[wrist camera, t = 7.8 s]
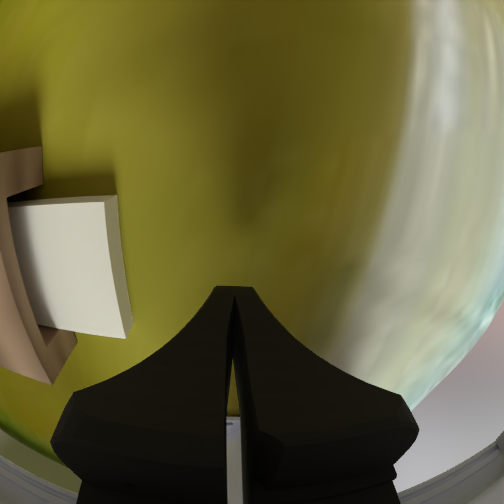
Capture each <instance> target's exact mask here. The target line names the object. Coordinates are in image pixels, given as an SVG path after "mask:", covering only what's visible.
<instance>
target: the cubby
mask: <svg viewBox="0 0 504 504" xmlns="http://www.w3.org/2000/svg"><path fill="white" fill-rule="evenodd" d="M42 184H43V170H42V146H38V147H31V148H24V149H17V150H12V151H6V152H0V366H2V367H4V368H6V369H9V370H11V371H14V372H16V373H19V374H21V375H24V376H27V377H30V378H32V379H35V380H38V381H41V382H44V383H47V384H50V385H53V383H54V381H55V379H56V378H57V376H58V374H59V372H60V371H61V369H62V367H63V365H64V364H65V362H66V360H67V359H68V357H69V355H70V354H71V352H72V350H73V349H74V347H75V346H76V344H77V340H76V337H75V334H74V331H69V330H63V329H58V328H53V327H48V326H43V325H38V324H37V323H36V320H35V317H34V314H33V312H32V309H31V306H30V303H29V300H28V297H27V293H26V290H25V287H24V283H23V280H22V276H21V272H20V269H19V265H18V260H17V256H16V252H15V247H14V242H13V237H12V232H11V226H10V219H9V213H8V205H7V197H9V196H12V195H14V194H17V193H20V192H22V191H25V190H28V189H31V188H34V187H37V186H39V185H42Z"/></svg>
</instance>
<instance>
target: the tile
mask: <svg viewBox="0 0 504 504" xmlns="http://www.w3.org/2000/svg"><path fill="white" fill-rule="evenodd" d="M7 205H8V213H9V219H10V226H11V232H12V237H13V242H14V247H15V252H16V256H17V260H18V265H19V269H20V272H21V276H22V280H23V283H24V287H25V290H26V293H27V297H28V300H29V303H30V306H31V309H32V312H33V314H34V317H35V320H36V323H37V324H38V325H43V326H48V327H53V328H58V329H63V330H69V331H75V332H81V333H87V334H93V335H100V336H107V337H115V338H123V339H126V338H127V336H128V333H129V331H130V329H131V327H132V325H133V323H134V321H133V316H132V311H131V306H130V300H129V294H128V289H127V282H126V276H125V269H124V262H123V254H122V245H121V236H120V226H119V213H118V198H117V195H103V196H81V197H65V198H51V199H38V200H27V201H17V202H8V203H7Z"/></svg>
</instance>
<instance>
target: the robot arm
mask: <svg viewBox="0 0 504 504" xmlns="http://www.w3.org/2000/svg"><path fill="white" fill-rule="evenodd" d="M232 359H233V362H234V370H235V379H236V386H237V394H238V402H239V410H240V417H227V404H228V395H229V386H230V377H231V368H232ZM418 432H419V427H418V425H417V423H416V421H415V419H414V417H413V415H412V413H411V411H410V409H409V407H408V406H407V404H406V402H405V401H404V399H403V398H402V396H401V395H399V394H396V393H393V392H391V391H388V390H385V389H382V388H379V387H377V386H374V385H371V384H369V383H366V382H364V381H362V380H360V379H358V378H356V377H354V376H352V375H349V374H347V373H345V372H344V371H342V370H340V369H338V368H336V367H335V366H333V365H331V364H330V363H328V362H327V361H325V360H323V359H322V358H320V357H319V356H317V355H316V354H315V353H313V352H312V351H310V350H309V349H308V348H306V347H305V346H304V345H303V344H302V343H300V342H299V341H298V340H297V339H295V338H294V337H293V336H292V335H291V334H290V333H289V332H288V331H287V330H286V329H285V328H284V327H283V326H282V325H281V324H280V323H279V321H278V320H277V319H276V318H275V317H274V316H273V314H272V313H271V312H270V311H269V310H268V308H267V307H266V306H265V304H264V303H263V302H262V300H261V299H260V297H259V296H258V294H257V293H256V291H255V290H254V288H253V287H241V286H216V287H215V288H214V289H213V291H212V292H211V294H210V296H209V297H208V299H207V300H206V301H205V303H204V304H203V306H202V307H201V308H200V309H199V311H198V312H197V313H196V314H195V316H194V317H193V318H192V319H191V320H190V321H189V322H188V323H187V324H186V326H185V327H184V328H183V329H182V330H181V331H180V332H179V333H178V334H177V335H176V336H174V337H173V338H172V339H171V340H170V341H169V342H168V343H166V344H165V345H164V346H163V347H162V348H160V349H159V350H158V351H156V352H155V353H153V354H152V355H150V356H149V357H148V358H146V359H145V360H143V361H142V362H140V363H138V364H137V365H135V366H133V367H131V368H130V369H128V370H126V371H124V372H122V373H120V374H118V375H116V376H114V377H112V378H110V379H108V380H105V381H103V382H100V383H98V384H95V385H93V386H90V387H87V388H85V389H82V390H79V391H76V392H74V393H73V394H72V396H71V398H70V399H69V401H68V403H67V404H66V406H65V408H64V411H63V413H62V415H61V417H60V420H59V422H58V424H57V426H56V429H55V431H54V433H53V436H52V438H51V441H50V443H51V446H52V448H53V450H54V452H55V453H56V455H57V456H58V457H59V458H60V460H61V461H62V462H63V463H64V464H65V465H66V466H67V467H69V468H70V469H71V470H72V471H73V472H74V473H75V474H76V475H77V476H78V477H79V478H80V479H81V480H82V483H81V487H80V491H79V494H76V493H74V492H71V491H69V490H66V489H64V488H61V487H59V486H57V485H54V484H52V483H50V482H48V481H46V480H44V479H42V478H40V477H38V476H36V475H33V474H32V473H30V472H28V471H26V470H24V469H22V468H21V467H19V466H17V465H15V464H14V463H12V462H10V461H9V460H7V459H5V458H4V457H2V456H1V455H0V504H504V431H503V432H502V433H501V435H500V436H499V437H498V438H497V439H496V441H495V442H493V443H492V444H490V445H489V446H488V447H486V448H484V449H483V450H482V451H480V452H478V453H477V454H475V455H474V456H472V457H470V458H469V459H467V460H465V461H464V462H462V463H460V464H458V465H457V466H455V467H453V468H451V469H450V470H447V471H446V472H444V473H442V474H440V475H438V476H436V477H434V478H432V479H430V480H427V481H426V482H423V483H421V484H418V485H416V486H414V487H411V488H409V489H407V490H404V491H402V492H399V493H397V492H396V489H395V486H394V484H393V481H392V480H394V479H395V478H396V476H397V473H396V471H395V468H394V466H393V465H394V464H395V463H396V461H398V459H400V458H401V456H402V455H404V453H405V452H406V451H407V450H408V449H409V448H410V447H411V446H412V444H413V443H414V442H415V440H416V438H417V435H418Z"/></svg>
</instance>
